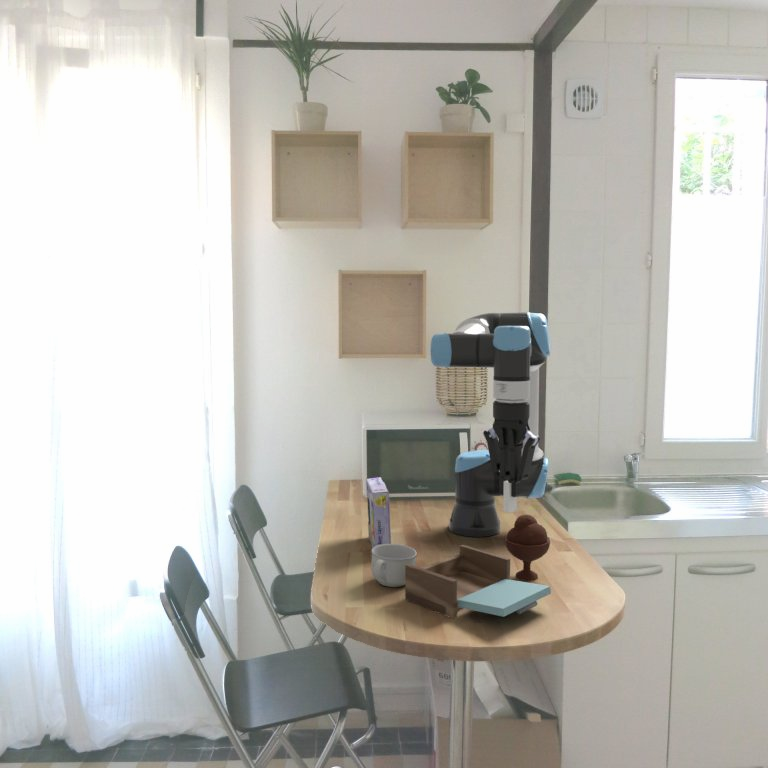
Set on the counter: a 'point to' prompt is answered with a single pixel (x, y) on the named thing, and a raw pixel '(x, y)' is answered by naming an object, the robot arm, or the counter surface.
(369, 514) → the cake pan box
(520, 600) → the pale blue slab
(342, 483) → the counter surface
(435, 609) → the drawer box
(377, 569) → the teacup
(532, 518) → the ice cream bowl
